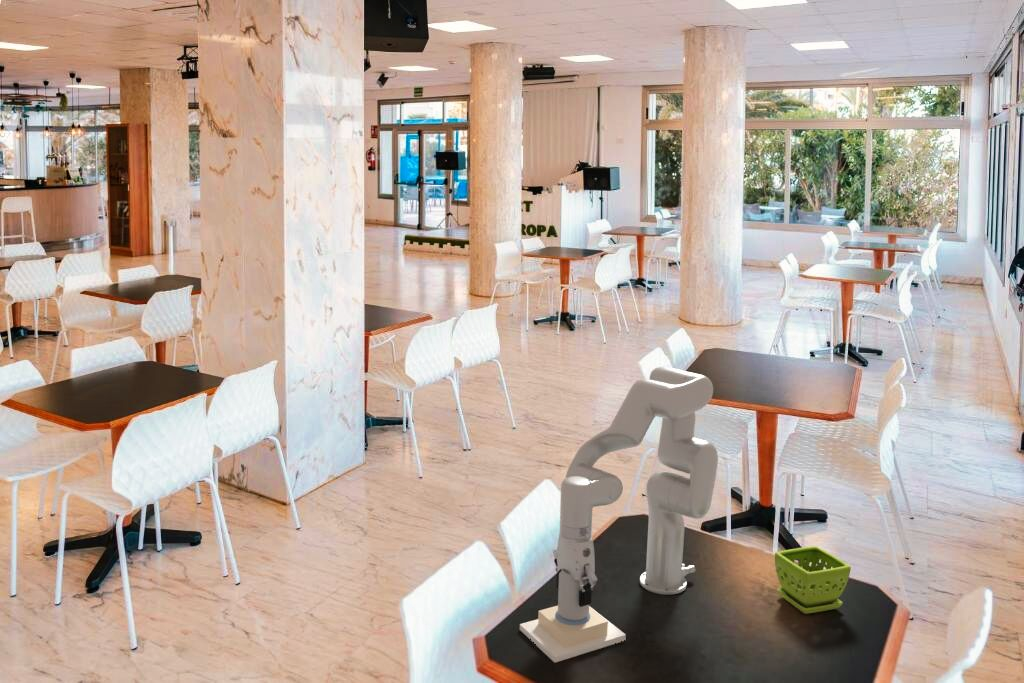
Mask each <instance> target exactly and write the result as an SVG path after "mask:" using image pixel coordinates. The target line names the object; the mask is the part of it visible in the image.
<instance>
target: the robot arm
mask: <svg viewBox="0 0 1024 683" xmlns="http://www.w3.org/2000/svg"><path fill="white" fill-rule="evenodd" d="M713 394H714V385H713V383H712V380H711V379H710V378H709V377H707V376H706V375H703V374H699V373H695V372H691V371H686V370H682V369H678V368H675V367H668V366H667V367H666V366H665V367H664V366H660V367H656V368H653V369H652V371H651V372H650V375H649V379H646V378H642V379H639V380H636V381H635V382H634V383H633V385H632V386H631V387H630V389H629V391H628V393H627V395H626V397H625V398H624V400H623V401H622V403H621V405H620V408H619V409H618V411H617V413H616V414H615V416H614V418H613V420H612V422H611V424H610V425H609V426H608V427H607V428H606V429H604V430H602V431H600V432H599V433H597V434H595V435H594V436H593V437H591V438H590V439H588V440H587V441H585V442H584V443H583V444H582V446H580V448H579V449H578V450H577V452H576V454H575V455H574V457H573V458H572V461H571V463H570V465H569V466H568V468H567V471H566V474H565V478H564V479H563V480H562V481H561V483H560V506H559V509H560V510H559V512H560V513H559V532H558V539H557V547H556V549H553V551H552V553H553V557H554V561H553V562H554V564H555V571H556V584H555V586H556V589H558V590H559V573H560V572H561V571H562V568H563V570H564V572H566V573H568V574H571V575H572V576H571V577H572V578H574V579H575V580H577V581H578V582H579V585H580V588H581V590H579V606H580V607H582V606H586V605H589V606H590V605H591V604H592V596H593V594H592V592H593V591H592V590H594V588H596V584H597V582H598V577H597V575H596V574H595V572H596V570H595V569H596V568H595V567H596V563H595V562H596V561H595V560H596V559H595V547H594V546H595V545H594V539H593V537H592V536H593V534H592V533H593V532H592V529H593V528H592V526H593V509H594V508H595V507H603V506H609V505H612V504H614V503H615V502H617V501H618V500H619V499H620V497H621V496H622V493H623V488H624V485H623V482H622V480H621V479H620V478H619V477H618V476H617V475H615V474H613V473H610V472H608V471H604V470H601V469H599V468H596V467H594V466H595V464H596V463H597V462H598V460H600V459H601V458H602V457H604V456H606V455H607V454H610V453H614V452H617V451H621V450H627V449H631V448H636V447H638V446H639V445H641V443H642V442H643V441H644V440H643V439H644V438H645V437H646V434H647V432H648V430H649V428H650V426H651V425H652V422H653V421H654V419H655V417H659V418H662V421H661V428H660V434H659V441H658V446H657V448H658V449H657V458H658V461H659V463H660V464H662V465H663V466H664V467H667V468H669V469H672V470H675V471H678V472H682V473H685V474H687V475H688V474H689V477H686V476H684V475H681V474H677V473H674V472H671V471H666V470H665V471H664V470H662V471H661V470H659V471H657V472H654V473H653V474H651V475H650V476H649V478H648V480H647V482H646V487H645V494H646V500H647V508H648V525H647V529H648V530H647V541H646V542H647V543H646V544H647V545H646V565H645V571H644V572H643V573H642V574H641V575H640V576H639V584H640V586H642V588H643V589H645V590H647V591H648V592H651V593H655V594H658V595H668V596H670V595H676V594H680V593H682V592H683V591H686V589H687V587H688V586H687V585H688V582H687V579H686V577H685V576H687V575H688V574H692V573H695V572H696V567H695V565H692V564H691V565H688V566H686V565H685V563H683V557H684V553H683V552H684V540H685V539H684V538H685V519H684V516H685V517H688V518H691V519H696V520H697V519H702V518H704V517H705V516H706V515H707V514H708V512H709V510H710V508H711V506H712V502H713V495H714V491H715V484H716V483H715V482H716V478H717V470H718V464H719V463H718V462H719V458H718V456H719V455H718V451H717V448H716V446H715V445H714V444H713V443H712V442H710V441H708V440H705V439H701V438H697V437H695V425H696V412H697V411H699V410H701V409H703V408H704V407H705V408H706V406H707V405H708V404H709V403H710V401H711V399H712V397H713ZM584 574H585V576H586V577H582V576H583V575H584ZM581 577H582V578H581ZM583 580H586V581H587V584H586V585H585V586H584V583H583Z"/></svg>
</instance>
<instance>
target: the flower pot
mask: <svg viewBox="0 0 1024 683" xmlns="http://www.w3.org/2000/svg"><path fill="white" fill-rule="evenodd" d="M795 561H797V564H796V563H795ZM810 563H811V564H810ZM774 564H775V567H774V568H775V572H776V576H777V578H778V579H777V580H778V582H779V584H780V586H781V587H778V588H776V591H777V593H778V594H779V595H780V596H781V597H782V598H783V599H784V600H785V601H787V602H788V603H789V604H791V605H792V606H793V607H795V608H796V609H798V610H799V611H800V612H802V613H803V614H805V615H807V614H813V613H820V612H826V611H831V610H835V609H838V608H839V607H841V606H842V605H843V601H842V600H840V599H839V597H841V595H842V594H843V592H844V590H845V589H846V586H847V585H848V584H847V583H848V582H849V578H850V574H851V568H852V567H851V565H849V564H848V563H847V562H845V561H843V560H842V559H840V558H839V557H837V556H835V555H833V554H832V553H830V552H828V551H827V550H825V549H823V548H821V547H819V546H817V545H813V546H804V547H797V548H791V549H786V550H785V549H784V550H779V551H776V552H775V553H774ZM824 568H825V569H824Z"/></svg>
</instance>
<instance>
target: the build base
mask: <svg viewBox="0 0 1024 683" xmlns="http://www.w3.org/2000/svg"><path fill="white" fill-rule="evenodd" d="M537 614H538V616H537V617H538V618H537V619H534V620H529V621H527V622H523V623H519V631H520V632H522V634H524V635H525V636H526V638H528V639H529V640H530V639H531V640H530V641H531V642H532V643H533V642H534V643H533V644H534V645H535V644H536V645H535V646H536V647H537V648H539V650H541V651H542V653H544V654H545V655H546V656H547V657H548V658H549V659H550V660H551V661H552V662H553V663H558V662H561V661H564V660H568V659H571V658H574V657H577V656H580V655H584V654H586V653H590V652H593V651H596V650H599V649H602V648H603V649H604V648H606V647H610V646H613V645H615V643H616V644H618V643H622V642H624V640H625V641H626V636H627V635H626V633H624V632H623V631H622V630H621V629H619V628H618V627H617V626H615V624H613V623H611V621H609V620H608V619H607V618H605V617H604V616H603V615H602V614H600V613H599V612H598V611H596V609H594V608H593V607H592V606H590V605H589V614H588V616H587V617H585V618H584V619H583V620H580V621H568V620H566V619H564V618H562V616H561V615H559V613H558V605H555V606H551V607H548V608H544V609H543V608H542V609H540V610H538V613H537ZM621 641H622V642H621Z"/></svg>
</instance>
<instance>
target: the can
mask: <svg viewBox="0 0 1024 683" xmlns="http://www.w3.org/2000/svg"><path fill="white" fill-rule="evenodd" d="M571 576H572V575H571V574H568V573H566V572H564V570H563V568H562V571H561V572H560V573H559V589H558V596H557V597H558V598H557V602H558V603H557V606H558V613H559V615H561V616H562V618H564V619H566V620H568V621H580V620H583V619H584V618H585V617H587V616H588V614H589V606H590V605H586V606H582V607H580V606H579V590H581V588H580V585H579V582H578V581H577V580H575V579H574V578H572V577H571ZM582 577H586V576H585V574H584V575H583V576H582ZM582 577H581V578H582ZM583 583H584V586H585V585H586V584H587V581H586V580H583Z"/></svg>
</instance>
